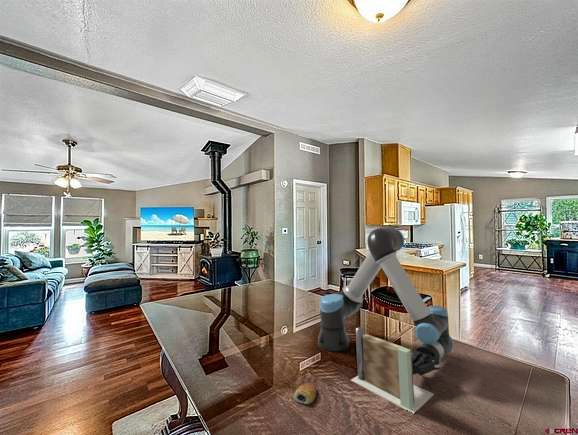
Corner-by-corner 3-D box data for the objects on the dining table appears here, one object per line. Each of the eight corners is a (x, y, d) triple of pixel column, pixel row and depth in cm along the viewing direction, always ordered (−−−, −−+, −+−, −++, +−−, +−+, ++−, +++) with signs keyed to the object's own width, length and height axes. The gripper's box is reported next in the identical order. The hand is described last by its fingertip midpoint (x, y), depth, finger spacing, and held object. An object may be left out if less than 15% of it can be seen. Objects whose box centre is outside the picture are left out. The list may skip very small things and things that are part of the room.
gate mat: (350, 380, 100) (350, 379, 100) (372, 367, 109) (372, 366, 109) (413, 414, 81) (413, 413, 81) (433, 394, 90) (433, 393, 90)
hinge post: (356, 378, 101) (354, 328, 102) (360, 375, 103) (358, 326, 103) (362, 381, 99) (360, 330, 100) (367, 378, 101) (364, 328, 101)
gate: (364, 379, 99) (362, 334, 99) (367, 378, 100) (365, 333, 100) (411, 404, 85) (408, 351, 85) (414, 401, 86) (411, 349, 86)
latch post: (400, 406, 85) (397, 349, 86) (404, 402, 86) (401, 347, 87) (409, 410, 83) (406, 352, 83) (413, 407, 84) (410, 350, 85)
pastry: (304, 386, 98) (303, 376, 98) (321, 391, 95) (320, 380, 95) (292, 401, 90) (292, 390, 90) (310, 407, 86) (310, 395, 86)
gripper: (448, 368, 99) (420, 396, 84) (413, 356, 110) (383, 379, 94) (447, 348, 100) (419, 372, 85) (412, 338, 110) (382, 358, 95)
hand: (400, 376), depth 90 cm, fingers closed
